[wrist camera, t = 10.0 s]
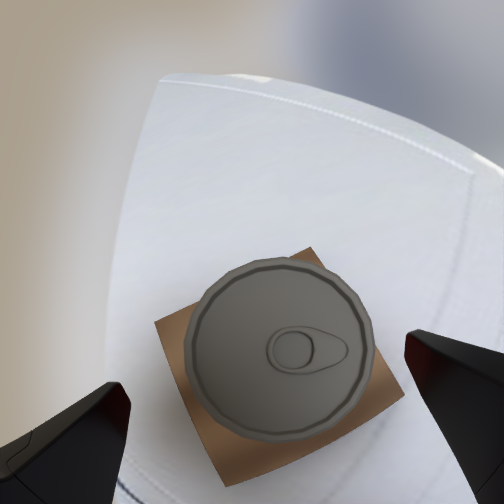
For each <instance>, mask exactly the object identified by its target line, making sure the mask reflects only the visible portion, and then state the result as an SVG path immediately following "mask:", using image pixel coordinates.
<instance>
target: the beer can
mask: <svg viewBox="0 0 504 504" xmlns="http://www.w3.org/2000/svg"><path fill="white" fill-rule="evenodd" d="M183 345H184V364H185V373H186V375H187V378H188V380H189V383H190V385H191V388H192V390H193V393H194V395H195V398H196V399H197V401H198V402H199V403H200V404H201V405H202V407H203V408H204V409H205V410H206V411H207V412H208V414H209V415H210V416H211V417H212V418H213V419H214V420H215V422H217V423H219V424H220V425H222V426H224V427H225V428H227V429H229V430H230V431H232V432H234V433H235V434H237V435H239V436H241V437H243V438H247V439H251V440H256V441H261V442H266V443H271V444H277V443H287V442H296V441H303V440H306V439H309V438H311V437H313V436H315V435H318V434H320V433H322V432H324V431H326V430H328V429H330V428H332V427H334V426H335V425H336V424H337V423H338V422H339V421H341V420H342V419H343V418H344V417H345V416H346V415H347V414H348V413H349V412H350V411H351V410H352V409H353V408H354V407H355V406H356V405H357V403H358V401H359V400H360V398H361V396H362V394H363V392H364V391H365V389H366V387H367V385H368V383H369V381H370V379H371V374H372V369H373V363H374V357H375V351H376V348H375V341H374V335H373V328H372V323H371V319H370V317H369V315H368V313H367V311H366V309H365V307H364V306H363V304H362V302H361V300H360V298H359V296H358V294H357V293H356V292H355V291H354V290H352V289H351V288H350V287H349V286H348V285H347V284H346V283H345V282H344V281H343V280H342V279H341V278H340V277H339V276H338V275H337V274H335V273H333V272H331V271H329V270H327V269H325V268H323V267H321V266H319V265H317V264H315V263H313V262H310V261H305V260H299V259H293V258H287V257H278V258H270V259H261V260H254V261H252V262H250V263H247V264H245V265H243V266H240V267H238V268H236V269H234V270H231V271H229V272H228V273H226V274H225V275H224V276H223V277H222V278H220V279H219V280H218V281H217V282H216V283H214V284H213V285H212V286H211V287H210V288H208V289H207V290H206V292H205V293H204V295H203V296H202V298H201V299H200V301H199V303H198V304H197V306H196V307H195V309H194V310H193V312H192V313H191V316H190V320H189V323H188V327H187V331H186V334H185V338H184V342H183Z"/></svg>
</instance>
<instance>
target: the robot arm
mask: <svg viewBox="0 0 504 504" xmlns="http://www.w3.org/2000/svg"><path fill="white" fill-rule="evenodd" d="M404 357H405V361H406V364H407V366H408V368H409V370H410V372H411V374H412V377H413V379H414V381H415V383H416V385H417V388H418V390H419V392H420V394H421V396H422V398H423V400H424V402H425V404H426V405H427V407H428V409H429V410H430V412H431V414H432V416H433V417H434V419H435V421H436V423H437V424H438V426H439V428H440V430H441V431H442V433H443V435H444V437H445V439H446V440H447V442H448V444H449V446H450V448H451V450H452V452H453V453H454V455H455V457H456V459H457V461H458V463H459V465H460V467H461V469H462V471H463V473H464V475H465V477H466V479H467V481H468V483H469V485H470V487H471V489H472V491H473V493H474V495H475V498H476V500H477V503H478V504H504V353H500V352H497V351H493V350H489V349H486V348H482V347H479V346H475V345H472V344H468V343H465V342H461V341H458V340H454V339H451V338H447V337H444V336H440V335H437V334H434V333H430V332H427V331H423V330H420V329H417V330H414V331H411V332H408V333H407V335H406V340H405V352H404ZM130 411H131V402H130V399H129V397H128V396H127V394H126V392H125V390H124V388H123V386H122V385H121V384H120V383H119V382H107V383H106V384H104V385H102V386H101V387H99V388H98V389H96V390H95V391H93V392H92V393H90V394H89V395H87V396H86V397H84V398H82V399H81V400H79V401H78V402H76V403H75V404H73V405H71V406H70V407H68V408H67V409H65V410H64V411H62V412H61V413H59V414H57V415H56V416H54V417H52V418H51V419H50V420H48V421H46V422H45V423H43V424H41V425H40V426H38V427H37V428H35V429H33V431H32V430H31V431H30V432H29V433H27V434H25V435H23V436H21V437H20V438H18V439H16V440H14V441H12V442H10V443H9V444H7V445H5V446H3V447H1V448H0V504H112V501H113V496H114V492H115V487H116V482H117V478H118V474H119V469H120V465H121V461H122V457H123V453H124V448H125V444H126V438H127V431H128V424H129V417H130Z"/></svg>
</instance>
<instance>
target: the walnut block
mask: <svg viewBox="0 0 504 504" xmlns="http://www.w3.org/2000/svg"><path fill="white" fill-rule="evenodd" d="M289 258H293V259H299V260H305V261H310V262H313V263H315V264H317V265H319V266H321V267H323V268H325V267H324V265H323V264H322V262H321V261H320V259H319V258H318V257H317V255H316V254H315V252H314V251H313V249H312V248H311V247H309V248H307V249H305V250H303V251H301V252H299V253H297V254H295V255H293V256H291V257H289ZM325 269H326V268H325ZM198 303H199V301H198V302H196V303H194V304H192V305H190V306H188V307H185V308H183V309H181V310H179V311H177V312H175V313H173V314H170V315H168V316H166V317H164V318H162V319H160V320H158V321H155V322H154V323H155V326H156V329H157V332H158V335H159V338H160V341H161V344H162V346H163V349H164V352H165V355H166V358H167V360H168V363H169V366H170V368H171V371H172V374H173V376H174V379H175V381H176V384H177V386H178V389H179V391H180V394H181V396H182V398H183V401H184V403H185V406H186V408H187V410H188V412H189V415H190V417H191V419H192V421H193V424H194V426H195V428H196V430H197V432H198V434H199V437H200V439H201V441H202V443H203V445H204V447H205V449H206V451H207V453H208V455H209V457H210V459H211V461H212V463H213V465H214V467H215V468H216V470H217V472H218V474H219V476H220V478H221V480H222V481H223V483H224V485H225V487H228V486H231V485H235V484H238V483H241V482H243V481H246V480H249V479H252V478H255V477H257V476H260V475H263V474H265V473H268V472H270V471H273V470H275V469H277V468H280V467H282V466H284V465H287V464H289V463H291V462H293V461H296V460H298V459H300V458H302V457H304V456H306V455H308V454H310V453H312V452H314V451H316V450H318V449H320V448H322V447H324V446H326V445H328V444H330V443H331V442H333V441H335V440H337V439H339V438H340V437H342V436H344V435H346V434H347V433H349V432H351V431H352V430H354V429H356V428H357V427H359V426H361V425H362V424H364V423H365V422H367V421H369V420H370V419H372V418H373V417H375V416H376V415H378V414H379V413H381V412H382V411H384V410H385V409H386V408H388V407H389V406H391V405H392V404H394V403H395V402H396V401H398V400H399V399H400V398H402V397H403V396H404V395H405V394H404V392H403V391H402V389H401V387H400V386H399V384H398V382H397V380H396V379H395V377H394V375H393V374H392V372H391V370H390V368H389V367H388V365H387V363H386V362H385V360H384V359H383V357H382V355H381V354H380V352H379V350H378V349H377V347H376V345H375V348H376V351H375V357H374V363H373V369H372V374H371V379H370V381H369V383H368V385H367V387H366V389H365V391H364V392H363V394H362V396H361V398H360V400H359V401H358V403H357V405H356V406H355V407H354V408H353V409H352V410H351V411H350V412H349V413H348V414H347V415H346V416H345V417H344V418H343V419H342V420H341V421H339V422H338V423H337V424H336V425H335V426H334V427H332V428H330V429H328V430H326V431H324V432H322V433H320V434H318V435H315V436H313V437H311V438H309V439H306V440H303V441H296V442H287V443H277V444H271V443H266V442H261V441H256V440H251V439H247V438H243V437H241V436H239V435H237V434H235V433H234V432H232V431H230V430H229V429H227V428H225V427H224V426H222V425H220V424H219V423H217V422H215V420H214V419H213V418H212V417H211V416H210V415H209V414H208V412H207V411H206V410H205V409H204V408H203V407H202V405H201V404H200V403H199V402H198V401H197V399H196V398H195V395H194V393H193V390H192V388H191V385H190V383H189V380H188V378H187V375H186V373H185V364H184V345H183V342H184V338H185V334H186V331H187V327H188V323H189V320H190V316H191V313H192V312H193V310H194V309H195V307H196V306H197V304H198Z"/></svg>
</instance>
